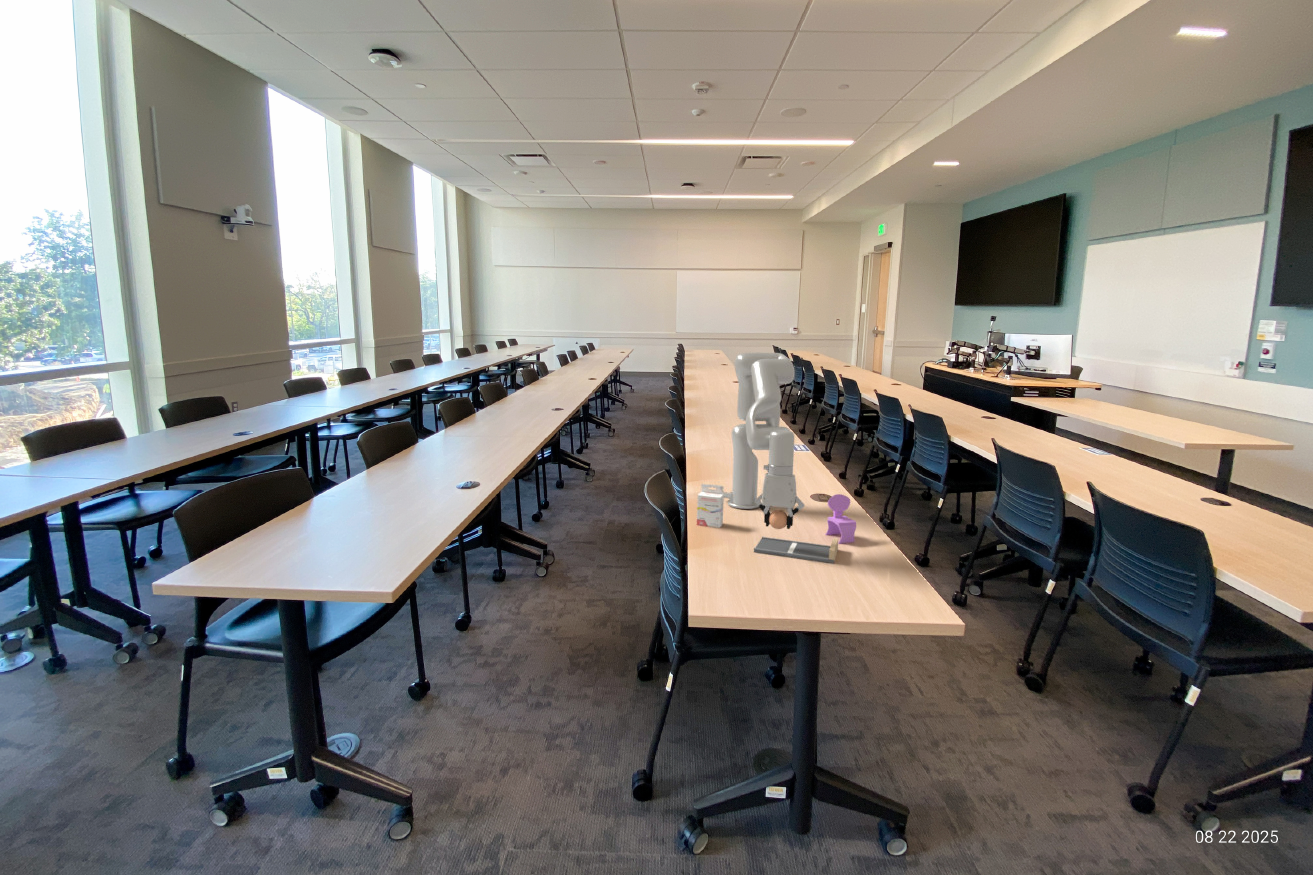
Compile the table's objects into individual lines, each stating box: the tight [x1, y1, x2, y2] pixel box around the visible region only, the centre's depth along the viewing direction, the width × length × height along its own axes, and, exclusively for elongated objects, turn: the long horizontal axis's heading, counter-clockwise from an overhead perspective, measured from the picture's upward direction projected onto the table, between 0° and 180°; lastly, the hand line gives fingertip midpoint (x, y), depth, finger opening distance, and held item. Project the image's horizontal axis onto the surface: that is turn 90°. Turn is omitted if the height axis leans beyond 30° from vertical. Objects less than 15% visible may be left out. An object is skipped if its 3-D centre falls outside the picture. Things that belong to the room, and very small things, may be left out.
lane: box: [753, 536, 839, 565], centre depth 187 cm, size 24×12×4 cm, turn 68°
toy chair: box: [825, 493, 857, 545], centre depth 196 cm, size 8×9×15 cm
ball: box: [769, 509, 788, 530], centre depth 187 cm, size 6×6×6 cm
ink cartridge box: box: [696, 483, 725, 529], centre depth 209 cm, size 9×5×15 cm, turn 71°
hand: (778, 526), depth 187 cm, fingers closed on ball, 5 cm apart
